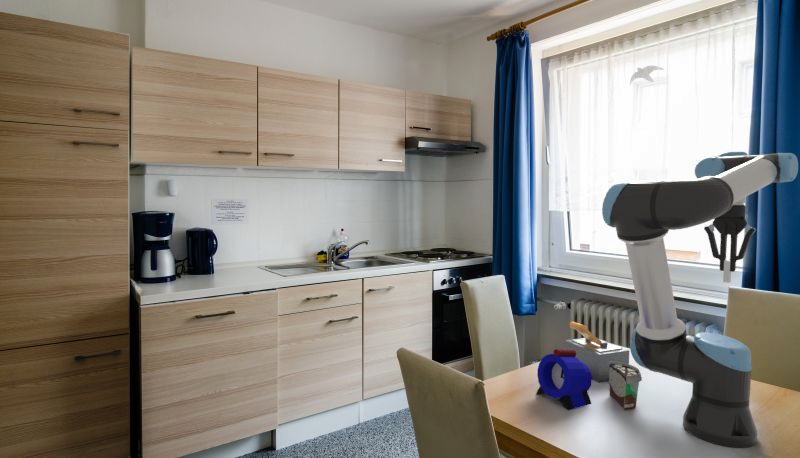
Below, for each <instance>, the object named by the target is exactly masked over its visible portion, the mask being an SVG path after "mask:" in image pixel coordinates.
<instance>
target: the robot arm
mask: <svg viewBox="0 0 800 458" xmlns="http://www.w3.org/2000/svg"><path fill="white" fill-rule="evenodd" d="M798 172H799V161H798V157H797V156H796V154H795V153H792V152H786V153H785V152H777V153H765V154H753V155H748V153H747V152H746V151H727V152H726V151H725V152H721V153H718V156H707V157H704V158H702V159H700V160H699V161H698V162H697V163H696V164H695V167H694V175H695V177H696V178H694V179H656V180H655V179H654V180H635V179H634V180H633V179H632V180H629V181H619V182H615V184H613V185H612V186H611V187H609V189H608V191H607V192H606V194H605V197H604V199H603V201H602V209H601V211H602V212H601V213H602V218H603V221H604V223H605V224H606V225H607V226H609V227H610V228H615V231H616V235H617V238H618V240H620V241H622V242H624V243H625V247H626V251H627V258H628V262H629V263H628V264H629V268H630V272H631V277H632V283H633V286H634V294H635V298H636V303H637V307H638V308H637V309H638V313H639V319H640V320H639V322H638V323H637V325H636V327H635V328H634V329H633V331H632V332H631V335H630V339H631V340H630V342H629V349H630V350H629V351H630V353H631V356H632V358H633V360H634V362H635V363H637V365H638V366H640V367H643V369H647V370H649V371H652V372H654V373H659V374H662V375H666V376H669V377H671V378H672V377H673V378H675V379H678V380H682V381H685V382H688V383H691V384H692V393H691V397H690V400H689V401H688V404H687V406H686V408H685V411H684V413H683V416H682V425H683V428H684V429H685V430H686V431H687V432H688V433H689V434H691V435H693V436H694V437H697V438H699V439H701V440H704V441H706V442H709V443H713V444H716V445H719V446H723V447H724V446H725V447H729V448H730V447H732V448H747V447H752V446H754V445H756V444H757V442H758V430H757V427H756V424H755V421H754V418H753V414H752V412H751V408H750V398H751V379H752V369H753V363H752V352H751V349H750V348H749V347H748V346H747V345H746V344H745V343H743V342H742V341H740V340H738V339H735V338H733V337H731V336H728V335H724V334H720V333H712V332H706V331H705V332H704V331H703V332H702V331H701V332H697V333H696V334H695V335H691V334H688V333H687V329H686V328H687V327H686V324H685V323H684V322H683V321H682V320H681V319H680V318H678V315H677V309H676V303H675V302H676V301H675V297H674V292H673V286H672V281H671V274H670V268H669V262H668V259H667V258H668V256H667V253H666V252H667V251H666V247H665V246H666V245H665V240H664V238H665V236H666V235H667V234H668V233H669V231H670V230H673V231H674V230H675V231H676V230H683V229H688V228H693V227H695V226H698V225H701V224H704V223H707V222H710V221H712V220H713V221H712V223H711V224H709V225H707V226H704V227H703V228H704V231H705V233H707V236H708V237H707V238H708V241H709V244H710V246H709V247H710V248H711V254H712V257H713V258H715V259H718V260H719V271H723V276H722V278H723V279H722V280H723V281H722V283H725V284H726V283H728V284H729V283H731V281H732V272H733V273H735V271H736V268H737V267H736V266H737V261H740V260H742V259H744V258H745V254H746V252H747V248H748V246H749V243H750V240H751V238H752V236H753V234H754V233H755V232H756V231H757V229H756V228H755V227H752V226H750V225H749V224H748V222H747V219H746V210H747V206H746V205H745V204H746V203H747V197H748V196H750V195H752V194H755V192H758V191H759V190H761V189H763V188H765V187H767V186H768V185H771V184H774V183H780V184H781V183H788V182H793V181H794V180H795V179H796V177H797V175H798ZM715 229H716V231H717V232H718V233H719V234H720V235H719V236H720V244H719V245H720V246H719V248H720V250H718V249H719V248H718V244H717V240H716V236H715V232H714V231H715ZM743 230H744V232H745V234H744V237H743V240H742V242H741V246H740V248H739V251H737V250H738V238H739V237H738V235H740V234H741V232H742V231H743ZM729 235H730V252H729V259H727V248H728V247H727V243H728V242H727V241H728V236H729ZM737 252H738V253H737ZM737 254H738V255H737Z"/></svg>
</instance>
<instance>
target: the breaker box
mask: <svg viewBox="0 0 800 458" xmlns="http://www.w3.org/2000/svg"><path fill="white" fill-rule="evenodd" d="M598 339H599V340H600V341H601V343H600V345H598V344H596V343H593V342H590V341H589V340H587V339H586V338H585V337H581V338H580V337H579V338H573V339H565V340H564V350H575V351H576V356H575V357H576V358H578V359H579V360H580V361H581V362H583V363H584V364H586V365H587V367H588V368H589V370H590V372H591V375H592V381H594V382H596V383H598V384H601V383H605V382H609V368H608V365H609V361H613V362H621V363H626V364H629V365H630V350H629V349H627V348H625V347H622V346H620V345H616V344H613V343H612V342H608V341H606V340H603V339H600V338H598Z"/></svg>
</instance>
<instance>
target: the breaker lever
mask: <svg viewBox="0 0 800 458" xmlns="http://www.w3.org/2000/svg"><path fill="white" fill-rule="evenodd" d="M569 328H571V329H574V330H575V331H577V332H578V333H579V334H580V335H582V336H583V338H586V339H587V340H589V341H590V342H593V343H596V344H598V345H600V343H601V341H600V340H599V339H600V338H598V337H596V336H595V335H594V334H593V333H592V332H591V331H590V330H589V329H588V327H587V325H584V324H581V323H578V322H576V321H570V322H569Z"/></svg>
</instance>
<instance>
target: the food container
mask: <svg viewBox="0 0 800 458" xmlns="http://www.w3.org/2000/svg"><path fill="white" fill-rule="evenodd" d="M608 368H609V381H608V382H609V383H608V386H609V387H608V389H609V391H608V392H609V397H610V398H611V399H612V400H613V401H614V402H615V403H616V404H617V405H618V406H619V407H620V408H621V409H622V410H623V411H631V410H633V409H636V407H637V399H638V391H639V384H640V382H641V381H642V373H641V372H640V369H639V367H636V366H634V365H632V364H630V363H629V364H626V363H621V362H613V361H609V365H608Z"/></svg>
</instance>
